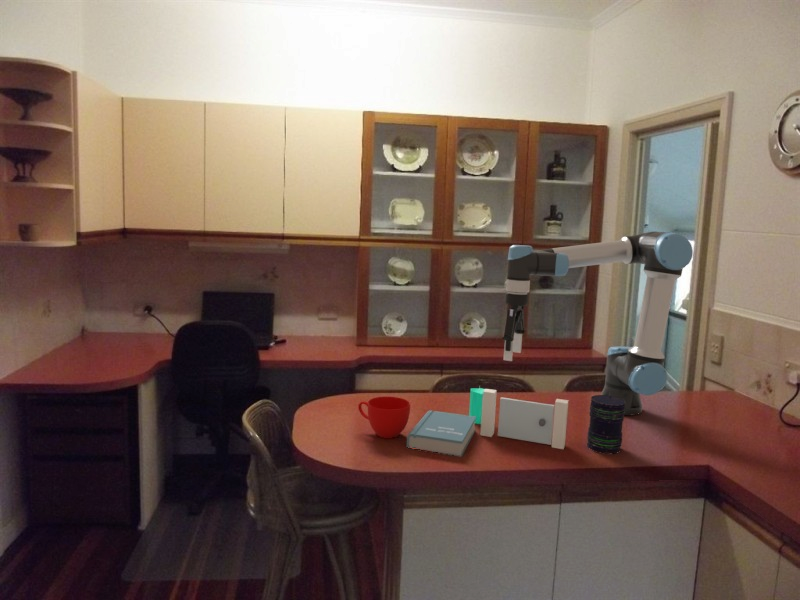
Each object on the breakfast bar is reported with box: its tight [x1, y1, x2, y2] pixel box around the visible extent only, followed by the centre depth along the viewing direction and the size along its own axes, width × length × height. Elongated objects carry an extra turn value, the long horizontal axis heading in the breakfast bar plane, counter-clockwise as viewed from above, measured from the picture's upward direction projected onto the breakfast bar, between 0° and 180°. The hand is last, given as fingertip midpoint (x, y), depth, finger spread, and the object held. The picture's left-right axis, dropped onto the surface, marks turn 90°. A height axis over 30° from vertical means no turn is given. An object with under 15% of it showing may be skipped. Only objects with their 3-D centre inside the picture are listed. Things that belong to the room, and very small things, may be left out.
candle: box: [468, 386, 486, 425], centre depth 198 cm, size 6×6×12 cm
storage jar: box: [586, 394, 626, 454], centre depth 179 cm, size 10×10×15 cm
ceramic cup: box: [358, 396, 411, 439], centre depth 184 cm, size 13×17×10 cm
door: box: [497, 396, 555, 446], centre depth 181 cm, size 16×3×12 cm, turn 69°
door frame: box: [480, 388, 570, 450], centre depth 182 cm, size 25×4×14 cm, turn 69°
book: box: [406, 409, 476, 458], centre depth 181 cm, size 23×16×5 cm
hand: (512, 356), depth 198 cm, fingers open, 13 cm apart
